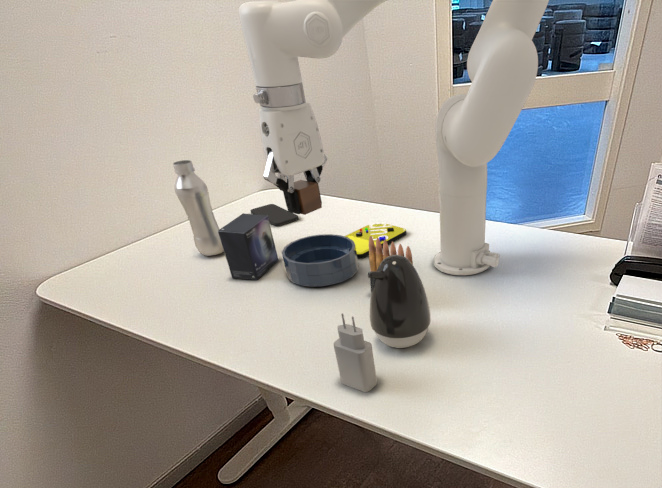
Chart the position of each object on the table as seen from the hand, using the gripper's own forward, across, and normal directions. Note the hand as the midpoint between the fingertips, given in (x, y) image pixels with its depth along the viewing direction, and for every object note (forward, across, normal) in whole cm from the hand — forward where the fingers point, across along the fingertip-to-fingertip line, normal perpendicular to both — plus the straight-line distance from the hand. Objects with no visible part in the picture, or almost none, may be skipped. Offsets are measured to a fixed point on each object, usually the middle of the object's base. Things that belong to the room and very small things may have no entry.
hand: (305, 207), depth 92 cm
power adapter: (+15, -22, -30) cm, 40 cm away
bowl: (+15, +3, +2) cm, 16 cm away
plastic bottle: (+15, -4, +32) cm, 36 cm away
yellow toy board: (+15, +21, +5) cm, 27 cm away
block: (0, 0, 0) cm, 0 cm away
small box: (+15, -4, +16) cm, 23 cm away
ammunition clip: (+15, +2, -19) cm, 24 cm away
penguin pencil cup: (+15, -9, -29) cm, 34 cm away
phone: (+15, +21, +39) cm, 46 cm away
